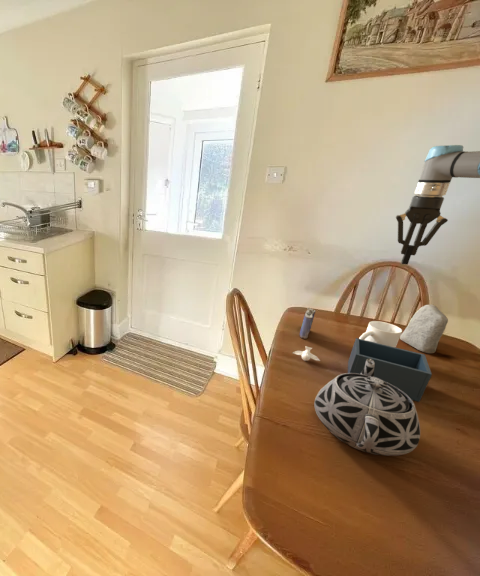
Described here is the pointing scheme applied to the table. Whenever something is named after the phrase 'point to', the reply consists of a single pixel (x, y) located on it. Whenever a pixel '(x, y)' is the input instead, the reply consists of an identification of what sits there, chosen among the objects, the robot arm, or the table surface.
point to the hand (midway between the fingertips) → (404, 263)
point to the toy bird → (306, 354)
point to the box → (392, 366)
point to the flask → (307, 323)
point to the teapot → (369, 413)
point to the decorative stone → (425, 329)
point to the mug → (382, 333)
